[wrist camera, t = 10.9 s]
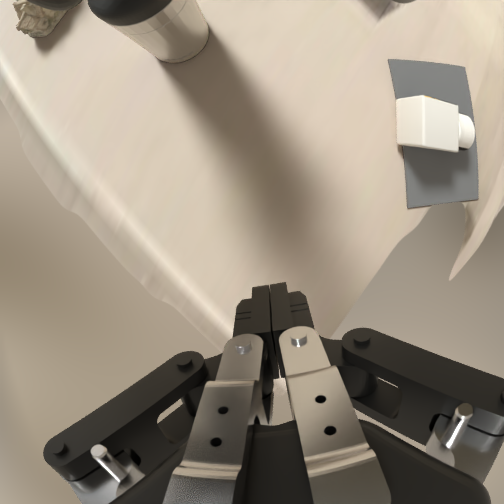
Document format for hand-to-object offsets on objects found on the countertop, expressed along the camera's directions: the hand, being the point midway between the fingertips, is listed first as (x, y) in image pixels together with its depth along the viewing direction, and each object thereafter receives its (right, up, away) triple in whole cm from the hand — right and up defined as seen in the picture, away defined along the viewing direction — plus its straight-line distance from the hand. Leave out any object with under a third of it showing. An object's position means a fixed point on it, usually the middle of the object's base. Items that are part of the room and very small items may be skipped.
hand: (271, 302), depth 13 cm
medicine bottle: (+20, +20, +21) cm, 36 cm away
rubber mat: (+30, +22, +25) cm, 45 cm away
